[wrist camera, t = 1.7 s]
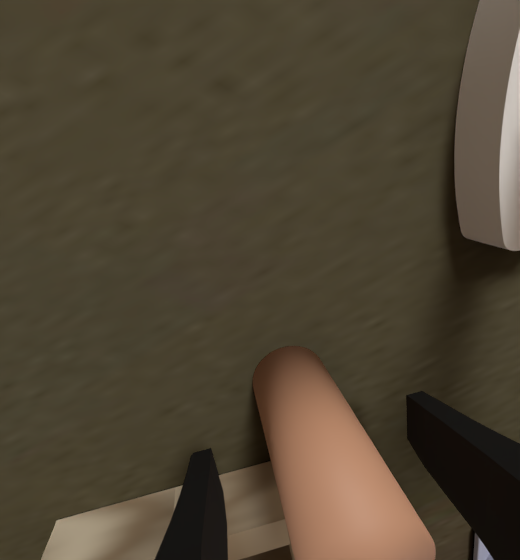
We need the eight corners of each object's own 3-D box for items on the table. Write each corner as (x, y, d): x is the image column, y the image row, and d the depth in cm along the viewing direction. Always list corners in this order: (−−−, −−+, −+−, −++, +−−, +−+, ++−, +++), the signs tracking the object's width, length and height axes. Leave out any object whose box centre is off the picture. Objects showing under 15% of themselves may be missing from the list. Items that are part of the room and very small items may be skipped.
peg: (319, 338, 15) (436, 503, 8) (327, 399, 16) (434, 594, 9) (246, 356, 15) (293, 547, 7) (259, 417, 16) (311, 635, 9)
